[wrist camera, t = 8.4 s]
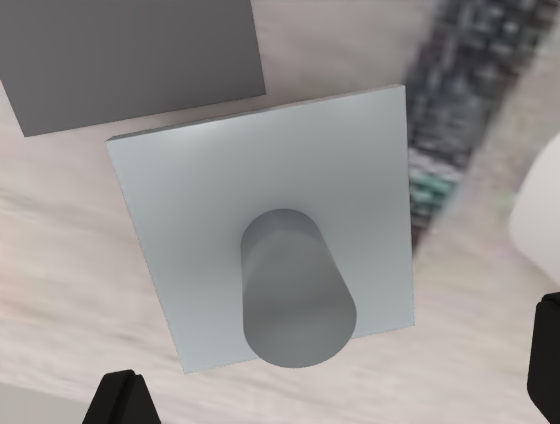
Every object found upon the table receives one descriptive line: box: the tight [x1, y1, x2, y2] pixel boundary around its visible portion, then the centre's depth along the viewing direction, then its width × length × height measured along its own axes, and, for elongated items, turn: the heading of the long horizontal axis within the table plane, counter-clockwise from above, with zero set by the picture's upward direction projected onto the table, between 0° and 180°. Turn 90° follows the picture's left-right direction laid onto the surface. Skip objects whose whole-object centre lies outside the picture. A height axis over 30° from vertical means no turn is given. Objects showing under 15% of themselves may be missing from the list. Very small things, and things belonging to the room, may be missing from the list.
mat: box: [0, 0, 266, 137], centre depth 21 cm, size 14×10×1 cm
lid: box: [105, 84, 415, 374], centre depth 14 cm, size 11×11×6 cm
